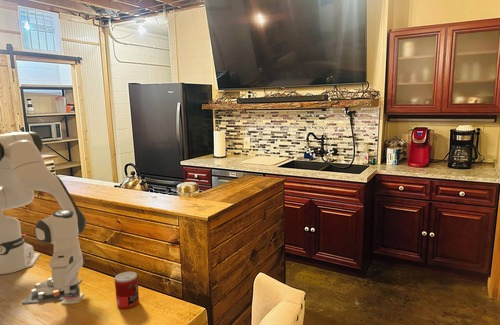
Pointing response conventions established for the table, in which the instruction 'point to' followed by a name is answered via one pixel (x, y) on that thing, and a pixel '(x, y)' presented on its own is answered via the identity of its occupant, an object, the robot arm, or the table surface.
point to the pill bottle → (73, 289)
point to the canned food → (126, 290)
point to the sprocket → (46, 289)
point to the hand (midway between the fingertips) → (71, 287)
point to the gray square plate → (47, 299)
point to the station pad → (72, 300)
